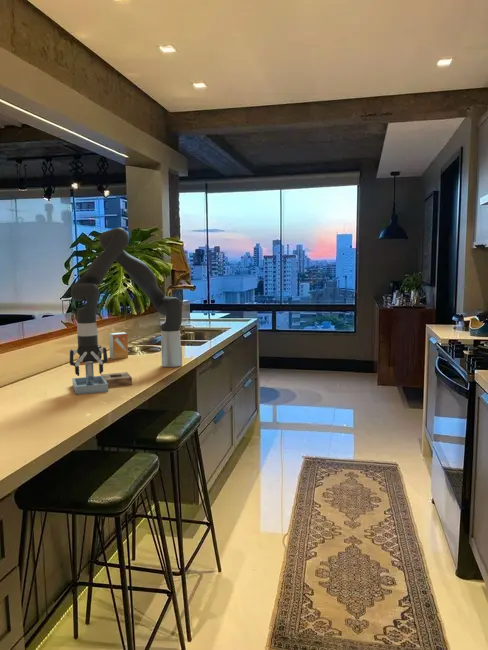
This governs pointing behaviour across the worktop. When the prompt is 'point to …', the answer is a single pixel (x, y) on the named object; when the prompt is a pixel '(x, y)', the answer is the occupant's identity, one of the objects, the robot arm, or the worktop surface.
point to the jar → (94, 358)
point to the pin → (89, 373)
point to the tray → (81, 387)
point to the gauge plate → (117, 379)
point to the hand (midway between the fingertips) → (89, 374)
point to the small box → (118, 345)
